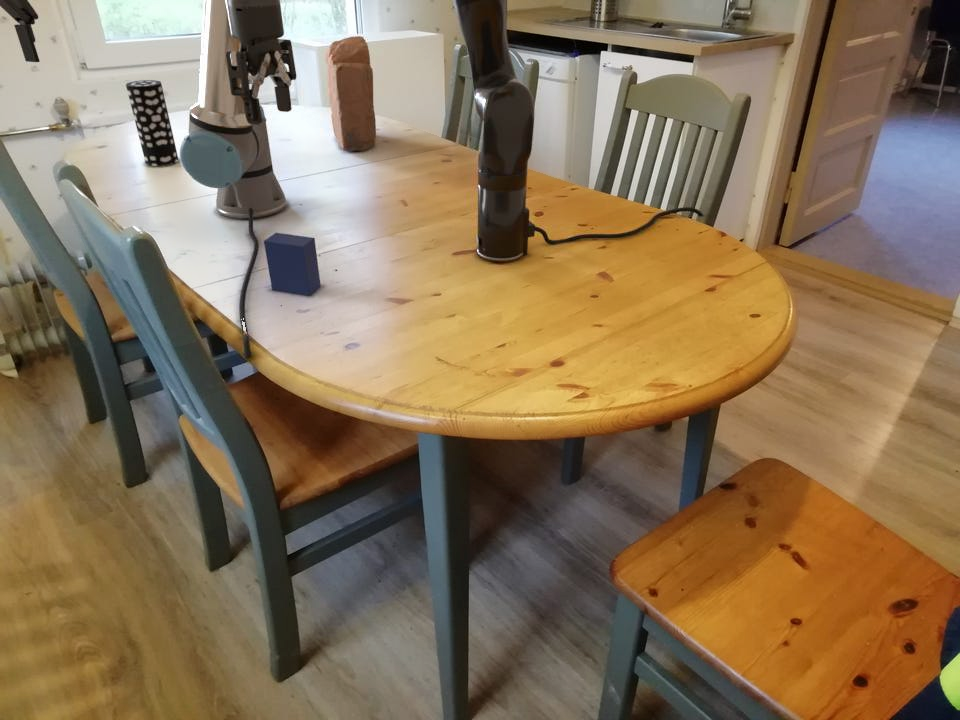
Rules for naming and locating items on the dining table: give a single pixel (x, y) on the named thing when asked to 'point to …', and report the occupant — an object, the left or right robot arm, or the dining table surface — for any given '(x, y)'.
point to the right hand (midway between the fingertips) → (270, 117)
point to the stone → (351, 93)
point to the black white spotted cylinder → (152, 122)
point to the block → (292, 263)
